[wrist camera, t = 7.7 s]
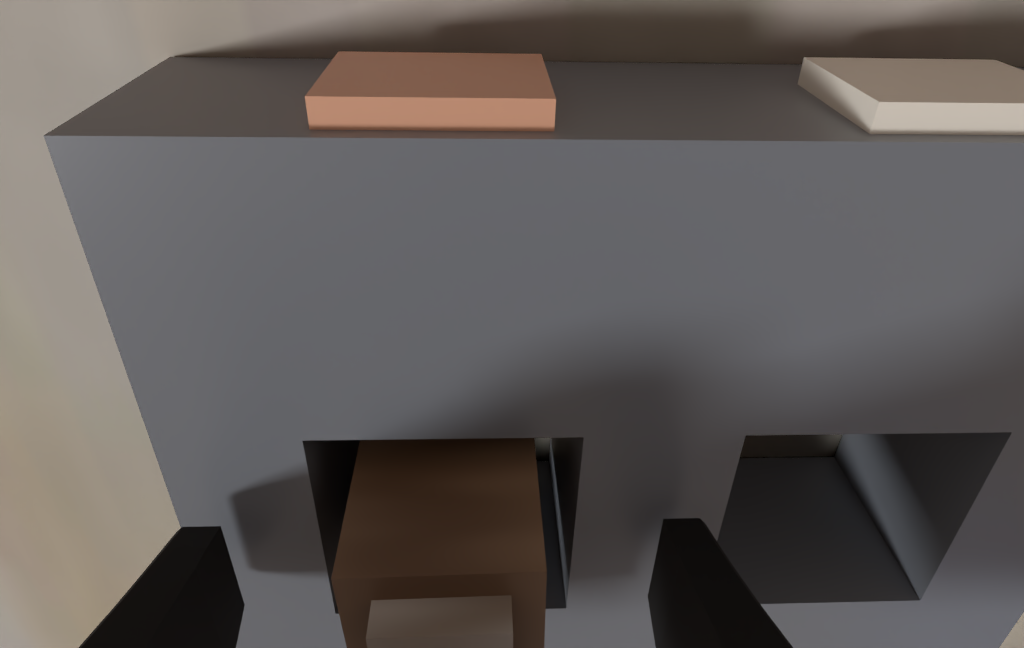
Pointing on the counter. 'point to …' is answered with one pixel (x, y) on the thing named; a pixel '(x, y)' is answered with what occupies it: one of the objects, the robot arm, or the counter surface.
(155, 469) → the counter surface
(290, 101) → the block
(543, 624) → the brown wooden block
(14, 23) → the counter surface
